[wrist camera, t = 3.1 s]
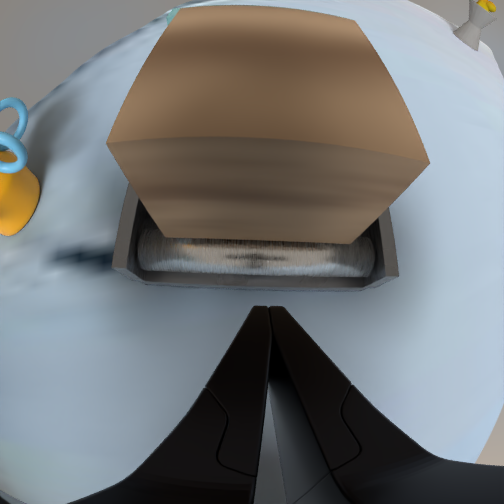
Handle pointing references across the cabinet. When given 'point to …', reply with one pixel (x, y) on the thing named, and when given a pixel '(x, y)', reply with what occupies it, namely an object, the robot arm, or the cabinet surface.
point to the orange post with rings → (16, 176)
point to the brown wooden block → (265, 128)
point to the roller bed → (246, 282)
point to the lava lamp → (476, 22)
